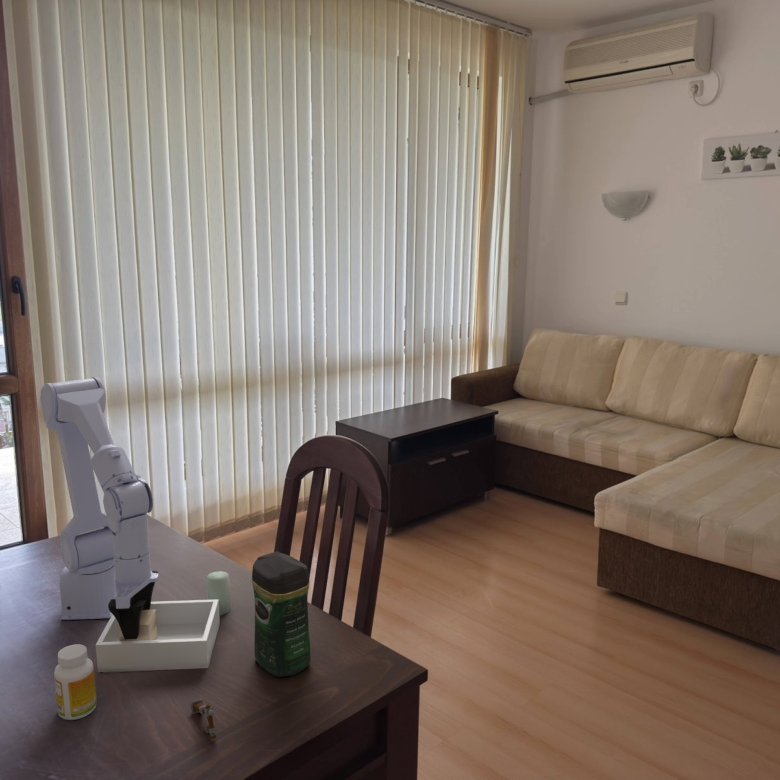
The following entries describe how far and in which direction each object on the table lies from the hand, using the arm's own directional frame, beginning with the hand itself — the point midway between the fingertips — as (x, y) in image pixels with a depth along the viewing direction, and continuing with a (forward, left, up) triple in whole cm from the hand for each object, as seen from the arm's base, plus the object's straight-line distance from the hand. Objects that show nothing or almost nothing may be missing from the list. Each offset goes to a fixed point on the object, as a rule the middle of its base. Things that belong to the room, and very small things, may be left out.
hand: (137, 625), depth 123 cm
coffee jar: (+25, -6, -4) cm, 26 cm away
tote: (+4, 0, -4) cm, 6 cm away
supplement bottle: (-5, -16, -4) cm, 17 cm away
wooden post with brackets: (+15, -21, -5) cm, 26 cm away
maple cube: (0, 0, -3) cm, 3 cm away
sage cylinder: (+12, +12, -4) cm, 17 cm away
